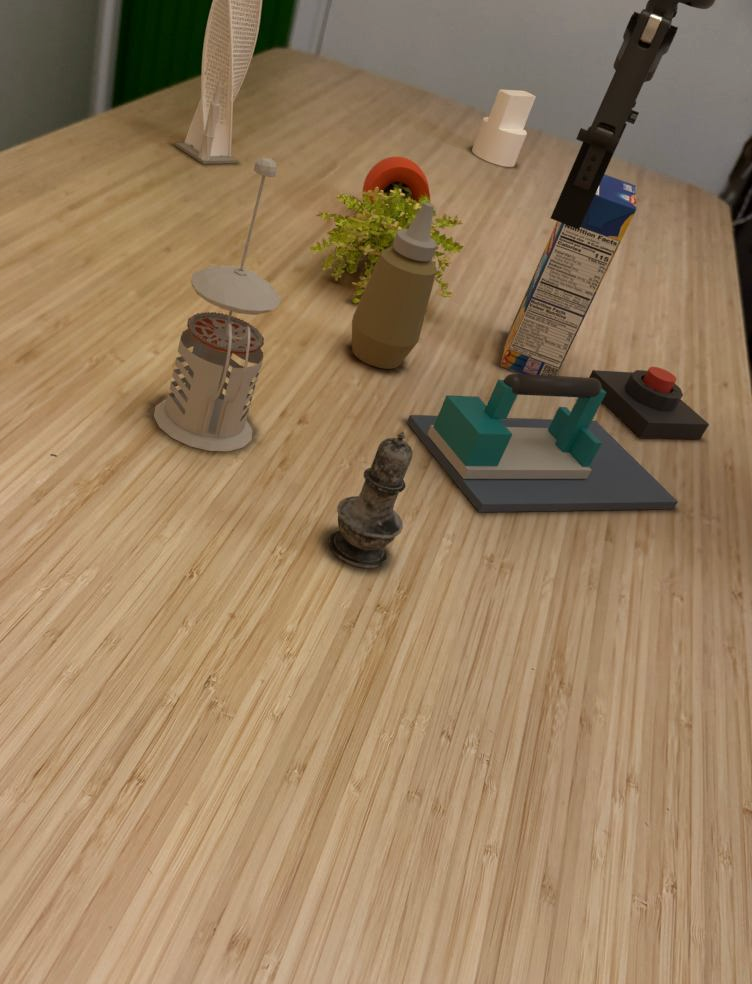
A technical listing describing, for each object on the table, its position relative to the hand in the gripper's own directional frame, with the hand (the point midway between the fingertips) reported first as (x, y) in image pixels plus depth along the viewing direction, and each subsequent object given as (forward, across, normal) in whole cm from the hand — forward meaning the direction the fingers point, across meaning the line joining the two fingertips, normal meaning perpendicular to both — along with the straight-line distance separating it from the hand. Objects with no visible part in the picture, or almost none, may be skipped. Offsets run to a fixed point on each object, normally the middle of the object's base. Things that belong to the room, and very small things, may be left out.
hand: (573, 205), depth 96 cm
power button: (+22, -25, +18) cm, 38 cm away
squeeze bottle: (+26, -10, -14) cm, 31 cm away
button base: (+25, -25, +18) cm, 40 cm away
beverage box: (+26, -28, +2) cm, 38 cm away
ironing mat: (+25, 0, +8) cm, 27 cm away
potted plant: (+26, -42, -24) cm, 54 cm away
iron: (+24, +3, +4) cm, 25 cm away
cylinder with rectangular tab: (+26, -119, -20) cm, 124 cm away
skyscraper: (+26, -57, -56) cm, 84 cm away
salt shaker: (+26, +29, -5) cm, 39 cm away
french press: (+26, +20, -23) cm, 40 cm away
